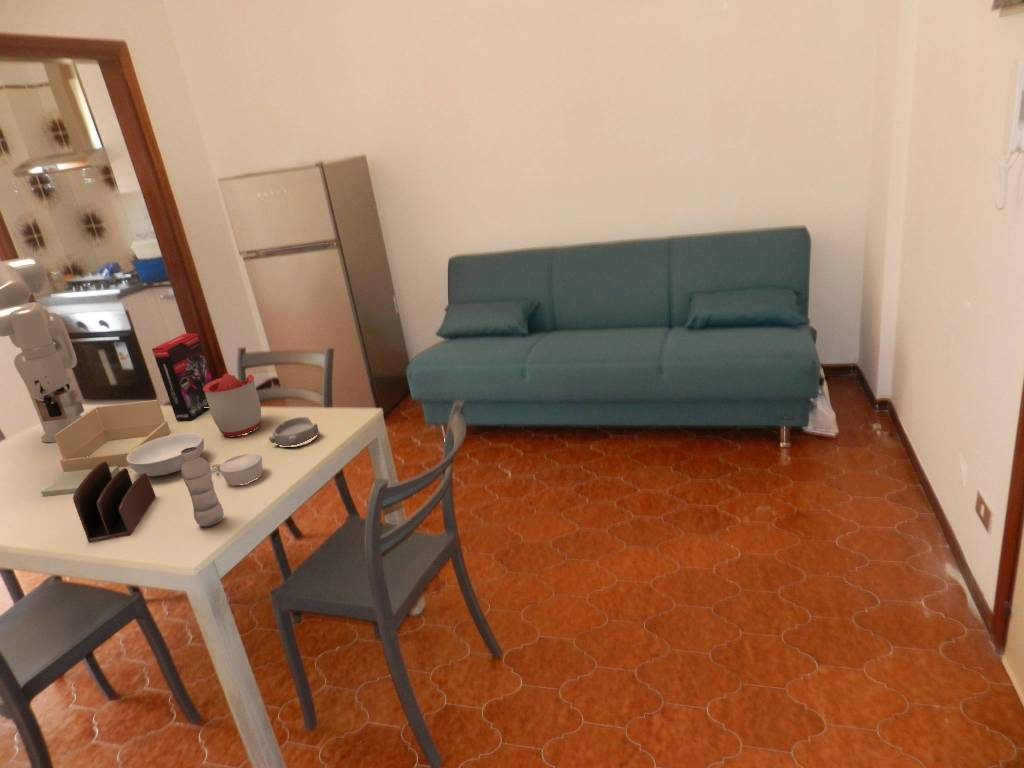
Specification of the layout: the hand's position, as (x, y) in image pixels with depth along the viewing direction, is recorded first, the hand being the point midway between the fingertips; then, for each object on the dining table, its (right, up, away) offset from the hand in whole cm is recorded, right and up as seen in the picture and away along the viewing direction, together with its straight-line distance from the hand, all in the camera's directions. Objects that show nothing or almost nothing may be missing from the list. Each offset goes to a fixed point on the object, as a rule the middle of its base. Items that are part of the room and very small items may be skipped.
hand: (62, 411), depth 197 cm
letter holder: (+28, -27, -19) cm, 44 cm away
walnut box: (0, -1, +1) cm, 1 cm away
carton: (+2, -14, +25) cm, 28 cm away
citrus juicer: (+40, -7, +30) cm, 51 cm away
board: (+3, -21, +5) cm, 22 cm away
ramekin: (+54, -19, -5) cm, 58 cm away
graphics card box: (+15, -2, +52) cm, 54 cm away
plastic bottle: (+54, -26, -27) cm, 66 cm away
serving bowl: (+27, -17, +8) cm, 33 cm away
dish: (+62, -10, +16) cm, 65 cm away
